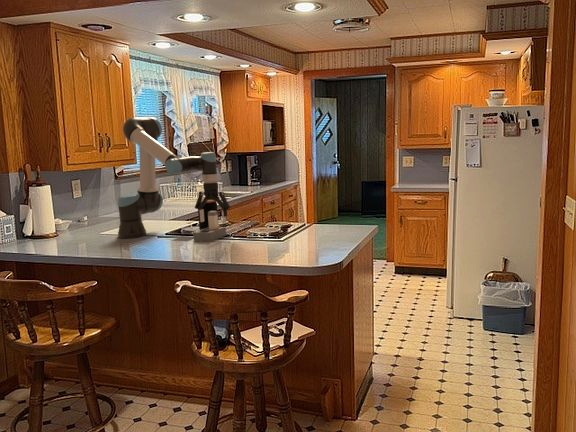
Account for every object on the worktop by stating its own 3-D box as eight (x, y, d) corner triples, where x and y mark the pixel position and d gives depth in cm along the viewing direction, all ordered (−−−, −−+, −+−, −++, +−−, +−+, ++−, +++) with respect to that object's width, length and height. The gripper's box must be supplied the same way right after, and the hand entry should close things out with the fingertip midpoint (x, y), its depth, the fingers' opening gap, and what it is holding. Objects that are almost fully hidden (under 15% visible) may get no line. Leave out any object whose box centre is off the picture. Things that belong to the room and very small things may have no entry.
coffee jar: (215, 233, 305) (212, 201, 302) (196, 233, 307) (194, 201, 304) (221, 229, 315) (219, 198, 312) (203, 229, 317) (201, 198, 314)
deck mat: (171, 241, 291) (171, 240, 290) (182, 237, 300) (182, 236, 299) (187, 242, 286) (187, 241, 286) (198, 238, 295) (198, 237, 295)
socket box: (193, 242, 287) (193, 232, 286) (210, 235, 301) (209, 226, 300) (210, 243, 282) (209, 233, 282) (226, 236, 297) (225, 226, 296)
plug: (209, 236, 294) (207, 211, 292) (213, 234, 297) (211, 210, 295) (215, 236, 293) (213, 212, 290) (218, 235, 296) (217, 210, 294)
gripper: (186, 182, 292) (189, 222, 296) (227, 183, 282) (230, 224, 285) (194, 181, 299) (197, 220, 302) (234, 181, 288) (237, 221, 292)
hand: (213, 222), depth 294 cm, fingers open, 13 cm apart
